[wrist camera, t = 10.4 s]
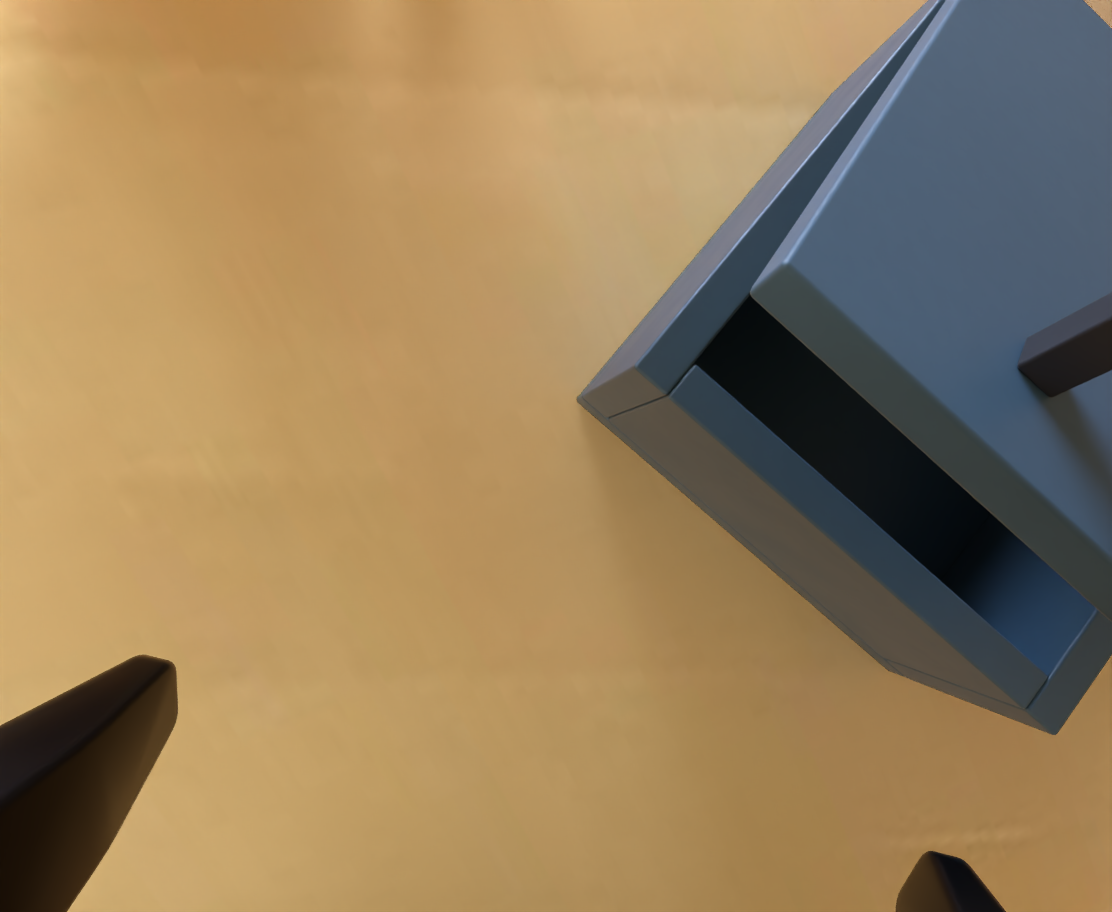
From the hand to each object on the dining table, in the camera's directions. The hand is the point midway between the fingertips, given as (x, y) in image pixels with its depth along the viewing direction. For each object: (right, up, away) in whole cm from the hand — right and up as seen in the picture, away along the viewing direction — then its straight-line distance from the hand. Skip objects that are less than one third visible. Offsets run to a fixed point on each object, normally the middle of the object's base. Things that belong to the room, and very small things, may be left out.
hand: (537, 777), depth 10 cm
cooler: (+9, +6, +14) cm, 18 cm away
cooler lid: (+10, +6, +5) cm, 13 cm away
